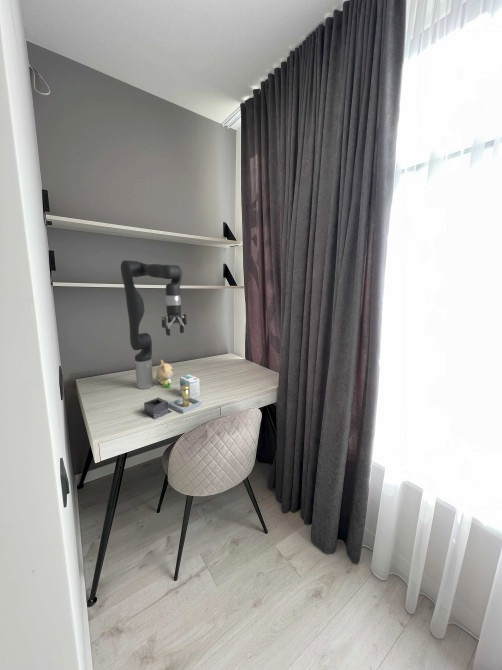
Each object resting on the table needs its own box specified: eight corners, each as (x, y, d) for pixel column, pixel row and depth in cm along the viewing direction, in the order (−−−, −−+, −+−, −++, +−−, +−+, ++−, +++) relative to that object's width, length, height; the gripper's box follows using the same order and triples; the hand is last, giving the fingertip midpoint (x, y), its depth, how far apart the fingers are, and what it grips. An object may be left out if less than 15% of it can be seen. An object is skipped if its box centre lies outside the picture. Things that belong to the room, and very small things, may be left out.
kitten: (176, 387, 167) (175, 363, 163) (159, 390, 162) (158, 366, 159) (171, 379, 180) (170, 357, 176) (156, 381, 175) (154, 359, 172)
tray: (169, 408, 139) (169, 403, 139) (187, 400, 148) (187, 395, 148) (183, 415, 132) (183, 409, 132) (201, 406, 141) (201, 401, 140)
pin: (180, 406, 140) (179, 386, 138) (186, 403, 143) (185, 384, 141) (185, 409, 137) (184, 388, 135) (191, 406, 141) (191, 386, 138)
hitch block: (140, 413, 134) (139, 402, 133) (158, 406, 141) (158, 395, 140) (154, 421, 126) (153, 409, 125) (172, 413, 134) (171, 402, 133)
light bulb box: (180, 394, 156) (179, 376, 154) (190, 391, 161) (189, 373, 159) (190, 400, 149) (189, 381, 146) (200, 396, 153) (199, 378, 151)
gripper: (180, 302, 150) (181, 331, 154) (157, 304, 139) (159, 335, 143) (189, 303, 146) (190, 333, 149) (166, 305, 135) (168, 337, 138)
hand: (175, 334), depth 146 cm, fingers open, 8 cm apart
